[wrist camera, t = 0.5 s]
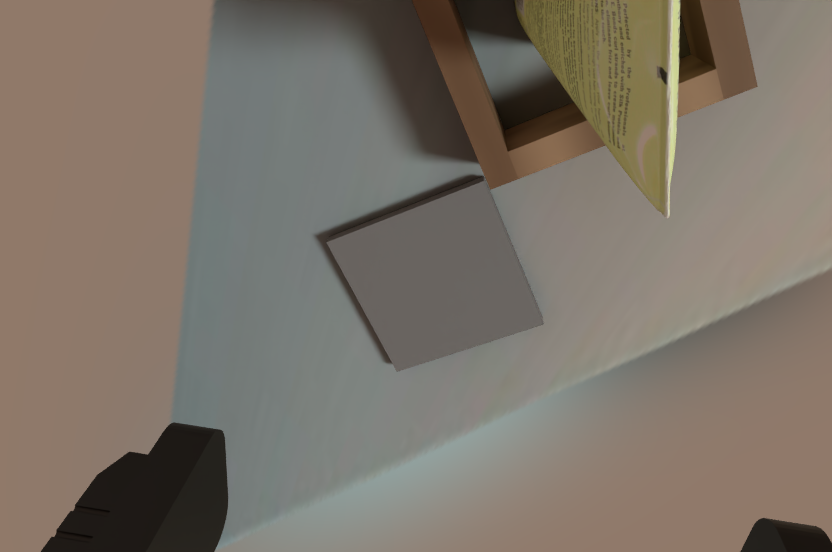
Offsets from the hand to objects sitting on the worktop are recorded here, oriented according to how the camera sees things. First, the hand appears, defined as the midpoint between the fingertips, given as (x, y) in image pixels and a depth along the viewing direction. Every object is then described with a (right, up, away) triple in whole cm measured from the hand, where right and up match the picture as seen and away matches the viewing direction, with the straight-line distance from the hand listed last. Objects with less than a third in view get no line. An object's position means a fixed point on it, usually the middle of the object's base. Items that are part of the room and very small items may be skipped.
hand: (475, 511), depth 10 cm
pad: (0, +4, +30) cm, 31 cm away
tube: (+6, +17, +23) cm, 29 cm away
